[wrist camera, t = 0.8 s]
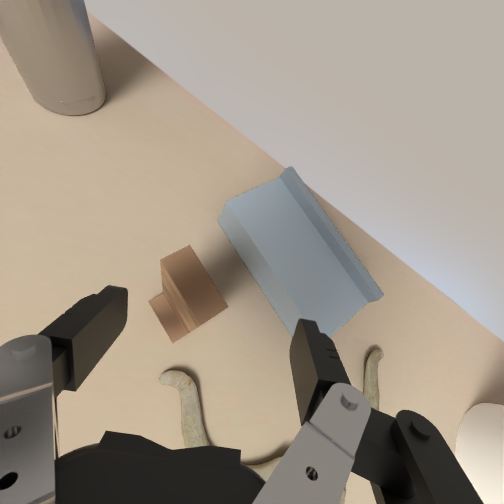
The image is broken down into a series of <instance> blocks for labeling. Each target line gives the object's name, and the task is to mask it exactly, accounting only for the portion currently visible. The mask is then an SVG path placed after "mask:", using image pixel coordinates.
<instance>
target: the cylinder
mask: <svg viewBox="0 0 504 504" xmlns="http://www.w3.org/2000/svg"><path fill="white" fill-rule="evenodd" d="M455 458H456V459H457V461H458V462H459V464H460V466H461V467H462V469H463V471H464V472H465V474H466V475H467V477H468V479H469V480H470V482H471V483H472V485H473V487H474V488H475V490H476V492H477V493H478V495H479V496H480V498H481V500H482V501H483V503H484V504H504V405H499V404H493V403H480V404H477V405H474V406H473V407H472V408H470V409H469V410H468V411H467V412H466V413H465V415H464V417H463V419H462V421H461V423H460V425H459V428H458V433H457V438H456V451H455Z"/></svg>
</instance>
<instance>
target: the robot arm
mask: <svg viewBox="0 0 504 504" xmlns="http://www.w3.org/2000/svg"><path fill="white" fill-rule="evenodd" d="M0 37H1V39H2V41H3V43H4V45H5V46H6V48H7V50H8V52H9V54H10V56H11V57H12V59H13V61H14V63H15V65H16V67H17V69H18V71H19V73H20V74H21V76H22V78H23V80H24V82H25V83H26V85H27V87H28V89H29V91H30V93H31V94H32V96H33V98H34V99H35V100H36V101H37V102H38V103H39V104H40V105H41V106H43V107H44V108H46V109H48V110H50V111H53V112H56V113H59V114H64V115H83V114H87V113H91V112H93V111H95V110H97V109H98V108H99V107H100V106H101V105H102V104H103V103H104V101H105V98H106V90H105V86H104V82H103V77H102V73H101V69H100V65H99V60H98V56H97V52H96V48H95V44H94V40H93V36H92V32H91V27H90V23H89V19H88V15H87V11H86V7H85V3H84V0H0ZM127 307H128V290H127V289H126V288H123V287H117V286H111V285H108V286H107V287H105V288H104V289H103V290H102V291H101V292H100V293H98V294H92V295H90V296H87V297H85V298H83V299H81V300H79V301H78V302H77V303H76V304H75V305H73V306H72V308H70V309H68V310H67V311H66V312H65V314H62V315H61V316H60V317H58V318H57V319H56V320H55V321H54V322H52V323H51V324H50V325H49V326H47V327H46V328H45V329H44V330H42V331H41V332H40V333H39V334H37V335H27V336H22V337H19V338H15V339H13V340H11V341H9V342H7V343H5V344H3V345H2V346H1V347H0V504H339V501H340V499H341V496H342V493H343V491H344V488H345V485H346V482H347V480H348V477H349V474H350V472H353V473H355V474H357V475H359V476H361V477H363V478H365V479H367V480H369V481H370V483H371V486H372V490H373V493H374V496H375V500H376V503H377V504H484V503H483V501H482V500H481V498H480V496H479V495H478V493H477V492H476V490H475V488H474V487H473V485H472V483H471V482H470V480H469V479H468V477H467V475H466V474H465V472H464V471H463V469H462V467H461V466H460V464H459V462H458V461H457V459H456V458H455V456H454V454H453V453H452V451H451V450H450V448H449V446H448V445H447V443H446V441H445V440H444V438H443V437H442V435H441V433H440V432H439V431H438V429H437V428H436V427H435V426H434V425H433V424H432V423H431V422H430V421H429V420H427V419H426V418H425V417H423V416H421V415H420V414H418V413H416V412H413V411H410V410H401V411H399V412H398V414H397V415H396V417H395V418H394V417H392V416H389V415H387V414H385V413H382V412H380V411H378V410H376V409H374V408H372V407H370V403H369V401H368V400H367V398H366V397H365V396H364V395H363V393H362V392H360V391H359V390H358V389H356V388H355V387H353V386H351V383H350V381H349V378H348V376H347V374H346V371H345V369H344V367H343V364H342V362H341V360H340V357H339V355H338V352H337V350H336V348H335V345H334V343H333V341H332V340H331V339H330V338H329V337H328V336H327V335H326V334H325V333H320V331H319V328H318V325H317V323H316V321H313V320H308V319H302V318H299V320H298V322H297V325H296V329H295V332H294V335H293V339H292V342H291V346H290V363H291V369H292V375H293V381H294V386H295V392H296V398H297V404H298V410H299V416H300V422H301V426H302V428H301V429H300V431H299V432H298V434H297V435H296V437H295V439H294V440H293V442H292V443H291V445H290V446H289V448H288V449H287V451H286V452H285V454H284V455H283V457H282V459H281V460H280V462H279V463H278V465H277V466H276V468H275V469H274V471H273V472H272V474H271V475H270V477H269V479H268V480H267V482H266V481H265V480H264V479H263V478H262V477H261V476H260V475H259V474H258V473H256V472H255V471H254V470H253V469H251V468H250V467H248V466H247V465H245V464H243V463H241V462H240V457H241V450H238V449H231V448H224V447H217V446H210V445H207V446H199V447H192V448H185V449H177V450H170V449H168V448H166V447H163V446H161V445H159V444H157V443H155V442H153V441H151V440H148V439H146V438H144V437H142V436H140V435H133V434H125V433H118V432H111V431H106V432H105V434H104V435H103V437H102V439H101V441H100V443H97V444H92V445H88V446H84V447H81V448H78V449H76V450H73V451H71V452H69V453H67V454H65V455H63V456H61V457H60V446H59V427H58V407H57V396H58V395H59V394H60V393H61V392H62V390H69V391H76V390H77V389H78V388H79V386H80V385H81V384H82V383H83V381H84V380H85V379H86V377H87V376H88V375H89V373H90V372H91V371H92V370H93V368H94V367H95V366H96V364H97V363H98V362H99V361H100V359H101V358H102V357H103V355H104V354H105V353H106V351H107V350H108V349H109V348H110V346H111V345H112V344H113V342H114V341H115V340H116V338H117V337H118V336H119V335H120V333H121V332H122V331H123V329H124V327H125V324H126V321H127Z"/></svg>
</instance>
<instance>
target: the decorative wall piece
mask: <svg viewBox="0 0 504 504" xmlns="http://www.w3.org/2000/svg"><path fill="white" fill-rule="evenodd" d="M381 358H383V352H382V351H381V350H380V349H375V350H374V351H373V352H372V353H371V354H370V355H369V357H368V360H367V363H366V368H365V378H364V392H363V395H364V396H365V397H366V398H367V400H368V401H369V403H370V407H372V408H374V409H376V410H378V411H379V389H378V377H377V368H378V362H379V360H380V359H381ZM159 379H160V383H161V384H162V385H171V386H173V387H176V388H177V389H178V390H179V392H180V396H181V423H182V435H183V439H184V443H185V447H186V448H192V447H199V446H207V445H210V444H209V442H208V439H207V437H206V434H205V430H204V427H203V422H202V414H201V407H200V402H199V396H198V392H197V388H196V384H195V382H194V381H193V379H192V378H191V377H190V376H188V375H187V374H185V373H184V372H182V371H178V370H169V371H166V372H164V373H162V374H161V376H160V378H159ZM281 459H282V457H278V458H275V459H273V460H271V461H269V462H266V463H263V464H260V465H247V466H248V467H250V468H251V469H253V470H254V471H255V472H256V473H258V474H259V475H260V476H261V477H262V478H263V479H264V480H265V481H266V482H267V480H268V479H269V477H270V475H271V474H272V472H273V471H274V469H275V468H276V466H277V465H278V463H279V462H280V460H281ZM345 494H346V490H345V488H344V491H343V493H342V496H341V499H340V501H339V504H344V500H345Z"/></svg>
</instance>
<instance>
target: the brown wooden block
mask: <svg viewBox="0 0 504 504" xmlns="http://www.w3.org/2000/svg"><path fill="white" fill-rule="evenodd" d="M160 262H161V274H162V286H163V293H162V294H161V295H159V296H157V297H155V298H153V299H152V300H150V301H149V303H150V305H151V307H152V309H153V310H154V312H155V314H156V315H157V317H158V319H159V321H160V322H161V324H162V326H163V327H164V329H165V331H166V333H167V334H168V336H169V338H170V339H171V341H172V343H174V342H175V341H177V340H178V339H180V338H181V337H183V336H184V335H186V334H187V333H189V332H191V331H192V330H194V329H195V328H197V327H199V326H200V325H202V324H203V323H205V322H206V321H208V320H209V319H211V318H212V317H214V316H215V315H217V314H218V313H220V312H221V311H223V310H224V309H226V308H227V307H228V305H227V303H226V302H225V300H224V299H223V297H222V295H221V294H220V292H219V291H218V289H217V287H216V286H215V284H214V283H213V281H212V280H211V278H210V276H209V275H208V273H207V272H206V270H205V268H204V267H203V265H202V264H201V262H200V260H199V259H198V257H197V256H196V254H195V252H194V251H193V249H192V248H191V246H190V245H189V246H187V247H185V248H183V249H181V250H179V251H177V252H175V253H173V254H171V255H169V256H167V257H165V258H163V259H161V260H160Z"/></svg>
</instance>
